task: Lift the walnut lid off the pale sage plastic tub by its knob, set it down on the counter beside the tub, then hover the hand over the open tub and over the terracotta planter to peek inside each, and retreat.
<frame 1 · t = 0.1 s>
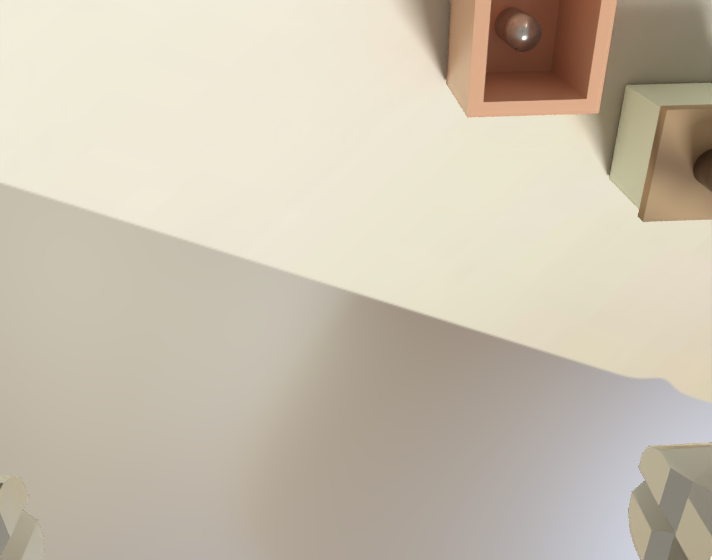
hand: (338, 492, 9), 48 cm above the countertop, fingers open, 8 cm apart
lid: (705, 161, 51), point 7 cm above the countertop, touching tub
tub: (664, 132, 57), on the countertop
planter: (508, 22, 52), on the countertop
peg: (510, 24, 51), point 1 cm above the countertop, touching planter
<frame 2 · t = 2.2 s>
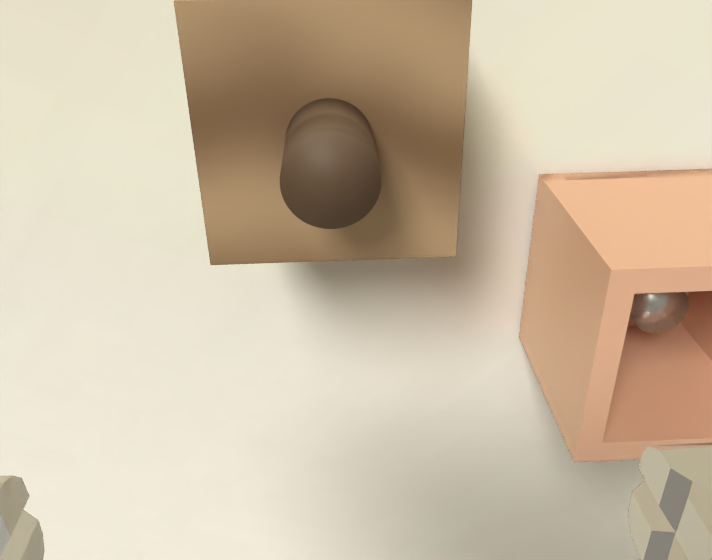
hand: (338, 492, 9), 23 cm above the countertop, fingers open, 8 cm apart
lid: (329, 132, 23), point 7 cm above the countertop, touching tub
planter: (619, 257, 34), on the countertop
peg: (625, 265, 33), point 1 cm above the countertop, touching planter
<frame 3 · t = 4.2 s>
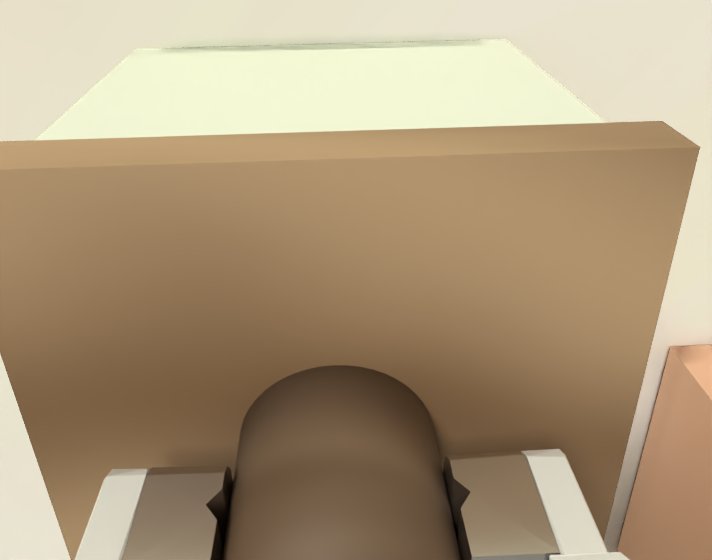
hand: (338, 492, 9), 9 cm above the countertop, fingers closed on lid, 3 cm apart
lid: (335, 397, 11), point 7 cm above the countertop, touching gripper, tub
tub: (329, 212, 17), on the countertop
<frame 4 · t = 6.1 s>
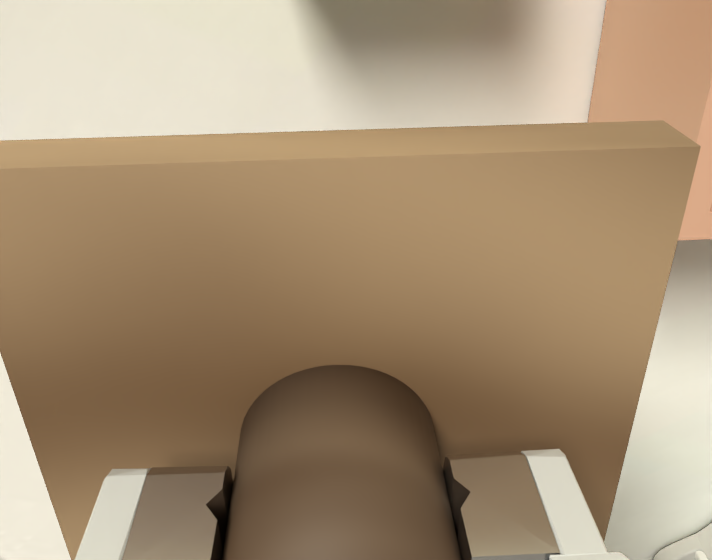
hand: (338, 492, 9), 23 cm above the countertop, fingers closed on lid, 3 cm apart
lid: (336, 397, 11), point 21 cm above the countertop, touching gripper
planter: (705, 43, 29), on the countertop
when the fingers open (5 cm above the countertop, at t = 8.4 s): lid drops 3 cm, on the countertop.
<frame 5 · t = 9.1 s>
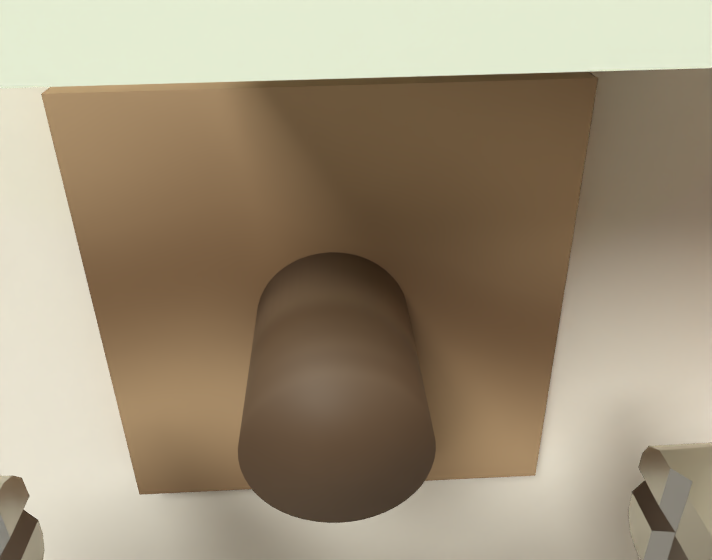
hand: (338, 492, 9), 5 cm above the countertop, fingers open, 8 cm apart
lid: (331, 291, 14), on the countertop
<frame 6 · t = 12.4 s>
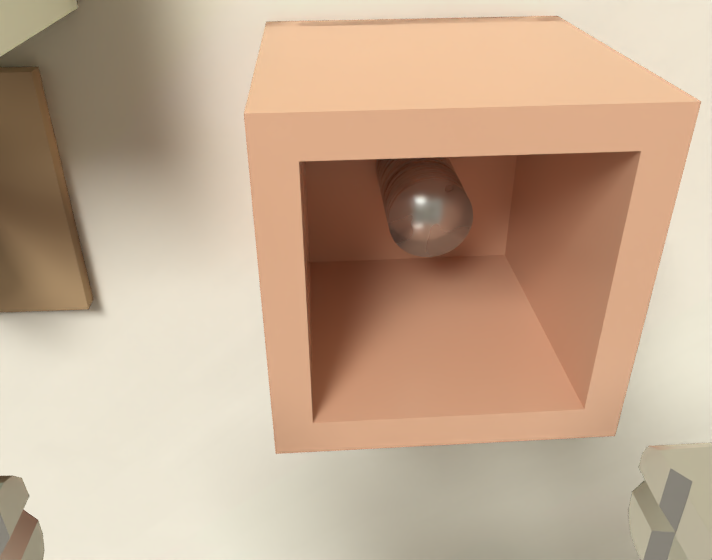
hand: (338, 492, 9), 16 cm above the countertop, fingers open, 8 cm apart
planter: (408, 157, 23), on the countertop
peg: (411, 166, 23), point 1 cm above the countertop, touching planter
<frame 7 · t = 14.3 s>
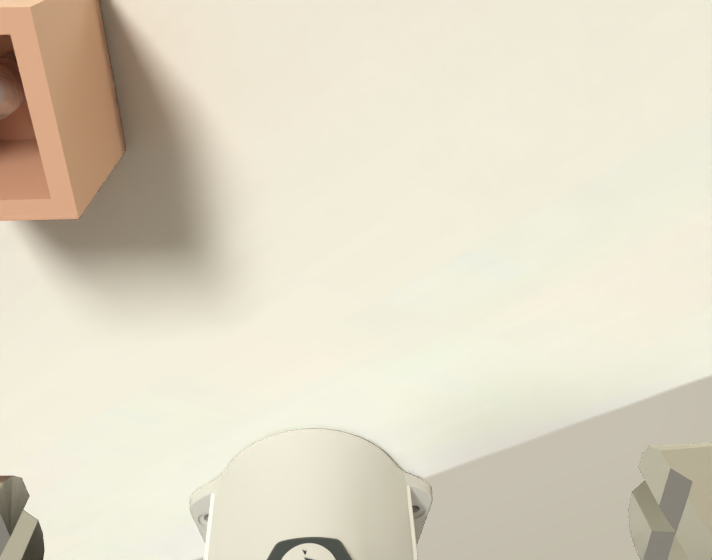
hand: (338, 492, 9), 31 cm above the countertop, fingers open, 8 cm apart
planter: (25, 70, 36), on the countertop
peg: (19, 74, 35), point 1 cm above the countertop, touching planter
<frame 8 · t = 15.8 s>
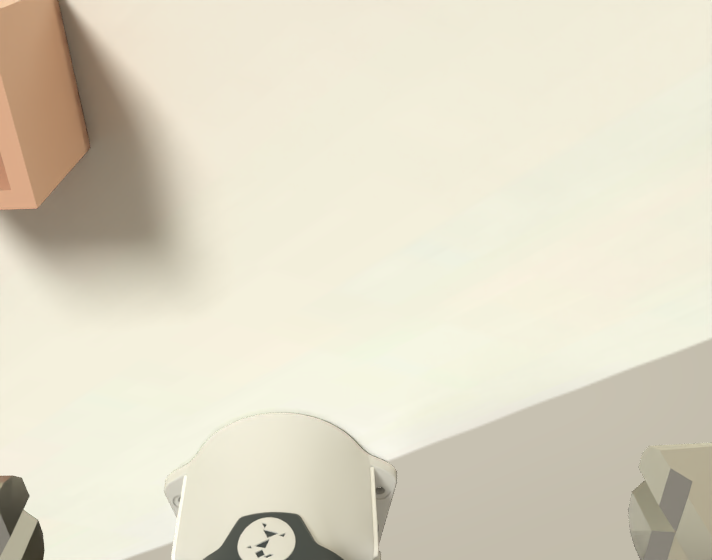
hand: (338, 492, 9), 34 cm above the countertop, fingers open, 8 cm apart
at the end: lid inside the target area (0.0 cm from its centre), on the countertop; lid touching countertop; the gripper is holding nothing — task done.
